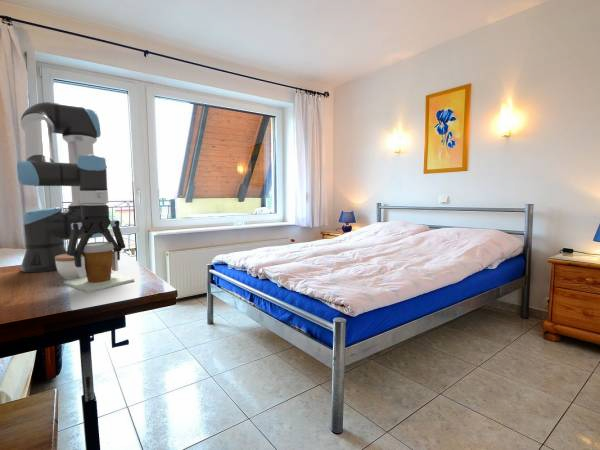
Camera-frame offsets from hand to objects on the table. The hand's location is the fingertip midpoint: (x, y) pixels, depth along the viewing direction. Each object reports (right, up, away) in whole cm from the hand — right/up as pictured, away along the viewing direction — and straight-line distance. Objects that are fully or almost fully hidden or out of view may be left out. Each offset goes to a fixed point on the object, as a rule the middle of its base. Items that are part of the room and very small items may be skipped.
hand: (99, 273), depth 104 cm
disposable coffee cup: (0, -2, 0) cm, 2 cm away
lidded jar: (-13, -3, +8) cm, 15 cm away
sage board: (0, -3, 0) cm, 3 cm away
